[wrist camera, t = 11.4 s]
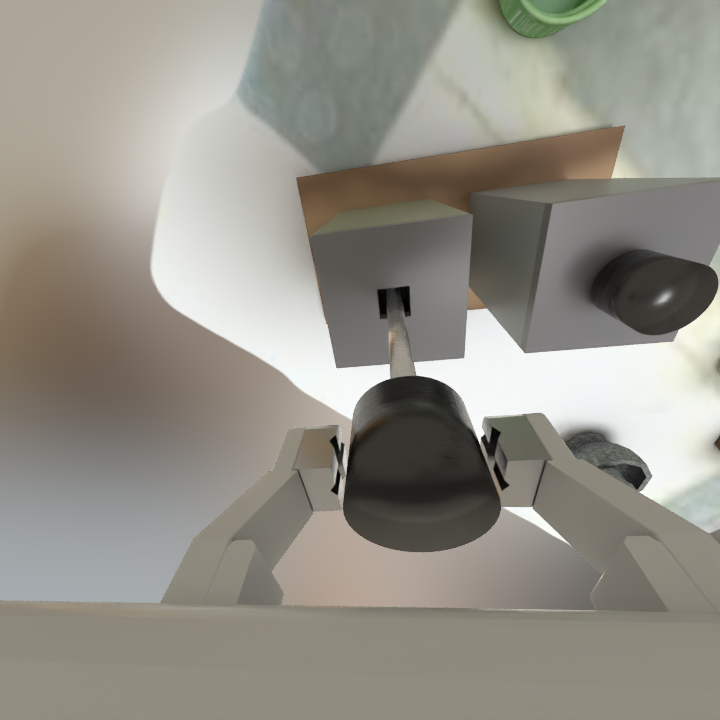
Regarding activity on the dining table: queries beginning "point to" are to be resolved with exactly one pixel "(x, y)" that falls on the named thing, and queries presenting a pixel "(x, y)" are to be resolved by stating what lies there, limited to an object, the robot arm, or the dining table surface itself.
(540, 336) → the grey block
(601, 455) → the mortar and pestle
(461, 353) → the olive slotted block
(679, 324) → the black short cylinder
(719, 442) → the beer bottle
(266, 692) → the robot arm
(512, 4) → the ramekin
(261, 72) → the dining table surface
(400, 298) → the black plunger knob
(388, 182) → the walnut board
